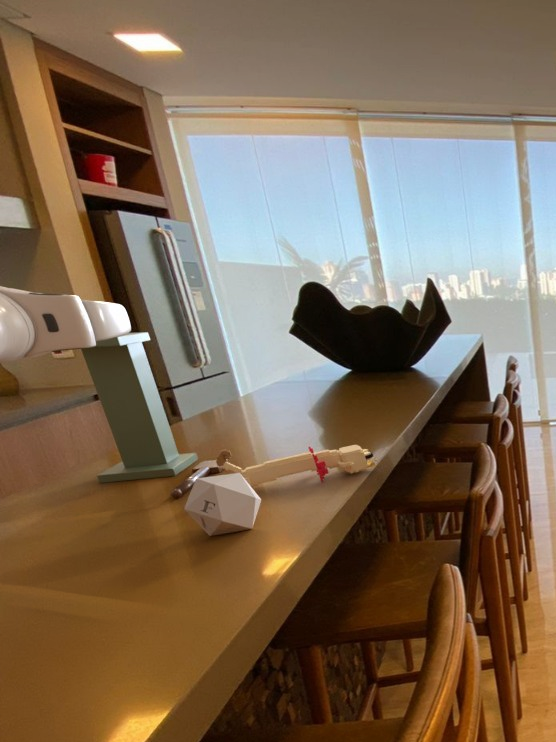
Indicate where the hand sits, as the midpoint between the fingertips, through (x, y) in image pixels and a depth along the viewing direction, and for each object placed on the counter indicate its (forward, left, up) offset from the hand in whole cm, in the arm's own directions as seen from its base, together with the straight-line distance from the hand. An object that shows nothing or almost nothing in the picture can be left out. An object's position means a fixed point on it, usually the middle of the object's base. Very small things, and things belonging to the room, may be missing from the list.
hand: (62, 318), depth 81 cm
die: (+18, -15, -30) cm, 38 cm away
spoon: (+5, +14, -30) cm, 33 cm away
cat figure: (+24, +7, -30) cm, 39 cm away
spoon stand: (-7, +24, -30) cm, 39 cm away
